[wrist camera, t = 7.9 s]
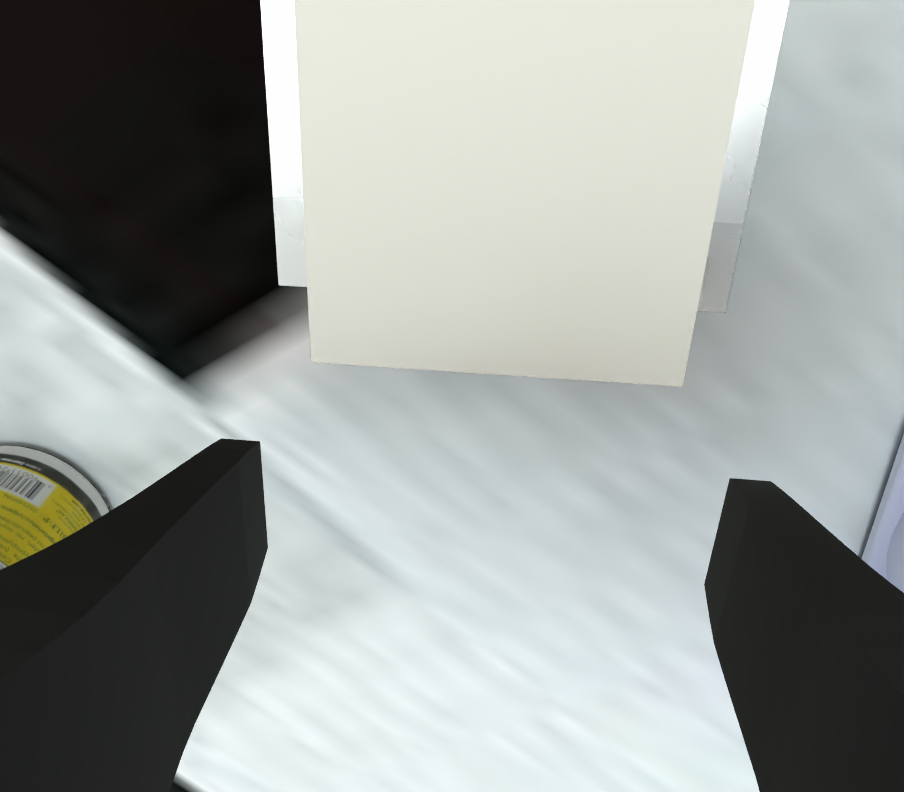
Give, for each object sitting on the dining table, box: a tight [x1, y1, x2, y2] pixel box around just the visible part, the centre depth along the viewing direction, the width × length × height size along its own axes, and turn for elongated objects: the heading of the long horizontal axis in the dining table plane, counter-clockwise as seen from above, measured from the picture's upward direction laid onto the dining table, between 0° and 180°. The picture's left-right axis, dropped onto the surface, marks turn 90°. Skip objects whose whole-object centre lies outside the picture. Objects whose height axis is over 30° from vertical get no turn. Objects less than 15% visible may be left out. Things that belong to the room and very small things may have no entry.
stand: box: [260, 0, 790, 313], centre depth 16 cm, size 11×11×5 cm
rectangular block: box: [294, 0, 755, 387], centre depth 11 cm, size 4×4×8 cm
